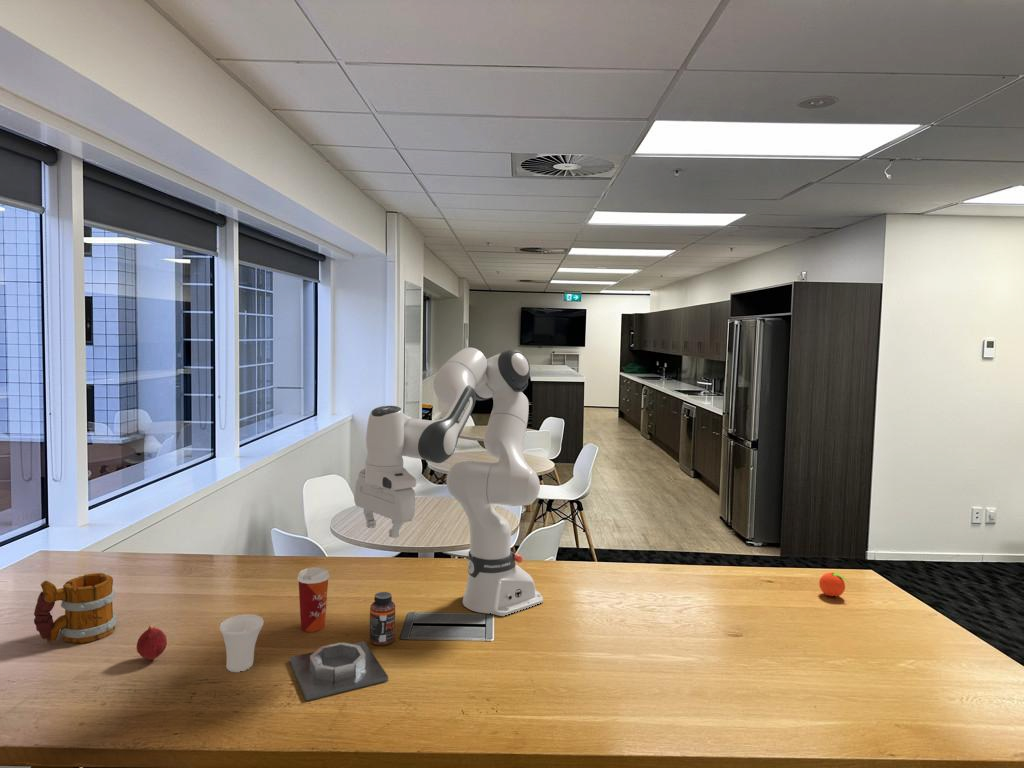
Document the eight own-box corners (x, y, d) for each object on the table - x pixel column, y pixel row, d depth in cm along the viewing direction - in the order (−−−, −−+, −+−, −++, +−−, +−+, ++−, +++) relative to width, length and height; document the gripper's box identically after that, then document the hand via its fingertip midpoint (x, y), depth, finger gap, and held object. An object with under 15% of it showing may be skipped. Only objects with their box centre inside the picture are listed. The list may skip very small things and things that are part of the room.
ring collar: (364, 645, 153) (364, 631, 153) (388, 680, 138) (388, 665, 138) (289, 661, 145) (289, 646, 144) (306, 701, 130) (306, 684, 130)
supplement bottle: (388, 648, 152) (389, 601, 151) (365, 644, 153) (365, 598, 152) (398, 636, 158) (399, 591, 157) (375, 633, 159) (376, 588, 158)
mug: (124, 633, 154) (123, 572, 153) (40, 657, 142) (38, 591, 141) (110, 618, 162) (108, 559, 160) (29, 639, 150) (27, 576, 148)
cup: (221, 681, 136) (221, 635, 135) (218, 660, 144) (218, 616, 143) (266, 672, 140) (266, 627, 139) (261, 652, 148) (261, 609, 147)
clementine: (849, 596, 194) (851, 573, 193) (846, 604, 188) (849, 580, 187) (819, 589, 198) (821, 566, 197) (816, 597, 192) (818, 573, 191)
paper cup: (319, 635, 157) (320, 579, 156) (290, 631, 158) (291, 576, 157) (334, 621, 164) (335, 568, 163) (306, 617, 166) (307, 564, 165)
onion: (173, 656, 145) (172, 622, 144) (151, 669, 139) (150, 633, 139) (153, 651, 147) (152, 617, 146) (130, 663, 141) (130, 628, 141)
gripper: (348, 468, 159) (347, 524, 160) (398, 484, 145) (396, 545, 146) (370, 466, 164) (368, 520, 164) (420, 481, 149) (418, 540, 150)
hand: (382, 532), depth 155 cm, fingers open, 8 cm apart
